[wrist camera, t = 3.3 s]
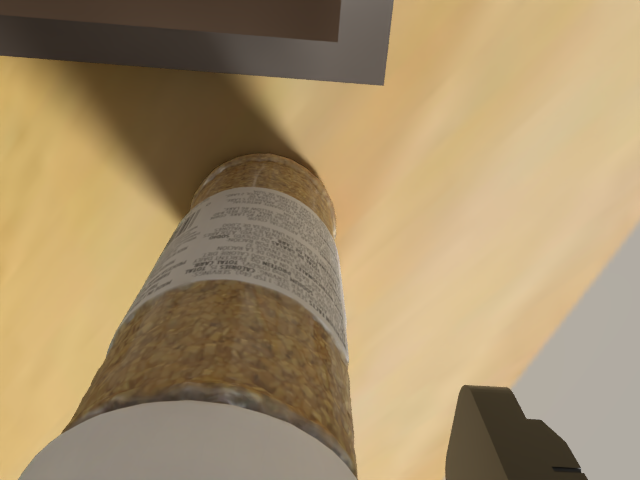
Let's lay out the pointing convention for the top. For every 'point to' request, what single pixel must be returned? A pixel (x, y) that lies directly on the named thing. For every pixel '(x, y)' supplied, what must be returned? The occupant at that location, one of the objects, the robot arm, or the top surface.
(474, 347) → the top surface
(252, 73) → the wooden tiered slot stand
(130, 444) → the sprinkles bottle
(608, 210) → the top surface
